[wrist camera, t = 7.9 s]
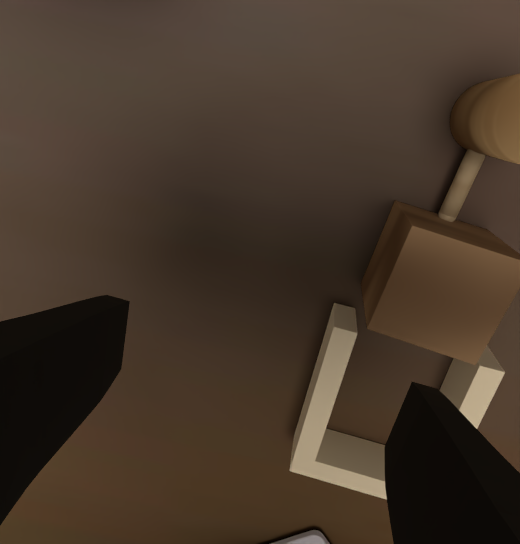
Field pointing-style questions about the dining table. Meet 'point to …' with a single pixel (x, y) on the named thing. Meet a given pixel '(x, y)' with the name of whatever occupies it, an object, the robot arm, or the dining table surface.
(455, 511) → the robot arm
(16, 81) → the dining table surface
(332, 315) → the small tray
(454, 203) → the tan rounded-end part
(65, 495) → the dining table surface
